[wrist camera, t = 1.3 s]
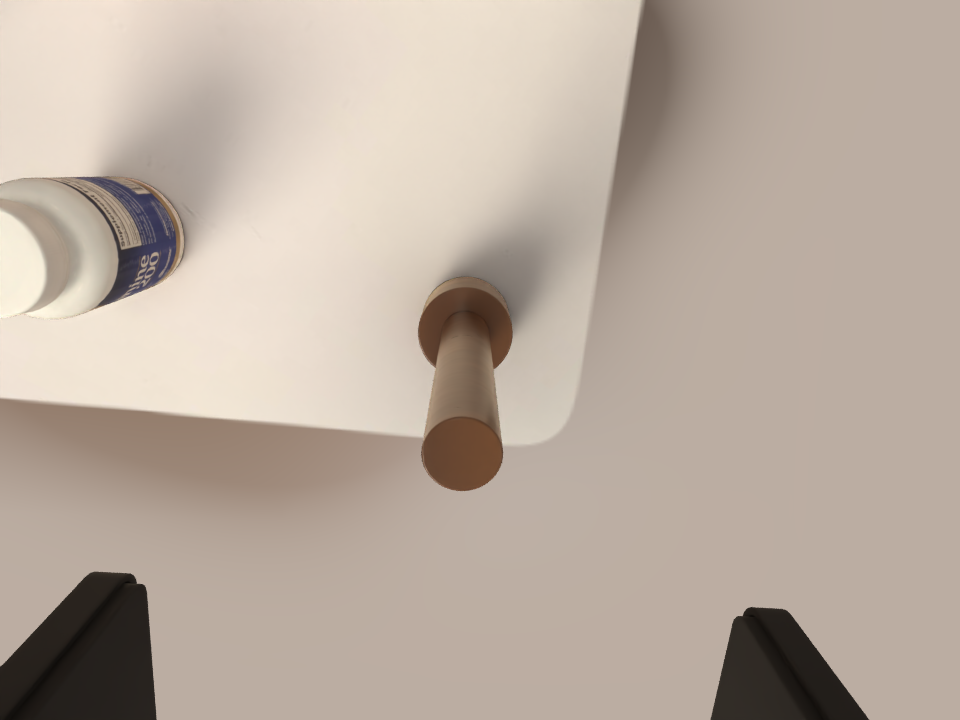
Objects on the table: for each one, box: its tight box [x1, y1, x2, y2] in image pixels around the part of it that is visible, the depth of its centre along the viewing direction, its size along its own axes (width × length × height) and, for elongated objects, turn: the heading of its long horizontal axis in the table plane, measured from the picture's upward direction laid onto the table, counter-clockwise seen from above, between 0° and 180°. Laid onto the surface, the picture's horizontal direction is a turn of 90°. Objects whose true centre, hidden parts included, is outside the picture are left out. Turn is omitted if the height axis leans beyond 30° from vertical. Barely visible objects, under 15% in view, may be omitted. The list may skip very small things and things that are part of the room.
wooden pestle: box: [418, 277, 513, 491], centre depth 25 cm, size 4×4×16 cm
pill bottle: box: [0, 177, 184, 320], centre depth 26 cm, size 5×5×10 cm
